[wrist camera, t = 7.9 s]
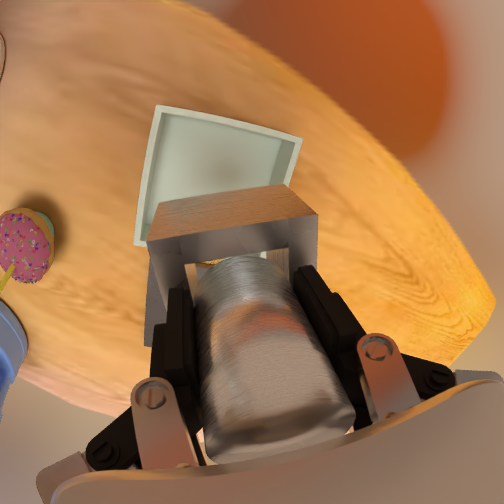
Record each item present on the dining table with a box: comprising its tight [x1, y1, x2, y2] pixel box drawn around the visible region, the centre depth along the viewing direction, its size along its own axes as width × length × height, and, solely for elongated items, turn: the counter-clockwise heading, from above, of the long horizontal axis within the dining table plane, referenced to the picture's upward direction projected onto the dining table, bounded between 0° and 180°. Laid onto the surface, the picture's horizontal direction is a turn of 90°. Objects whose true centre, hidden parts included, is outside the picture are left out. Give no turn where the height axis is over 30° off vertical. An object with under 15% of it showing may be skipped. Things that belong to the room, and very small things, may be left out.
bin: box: [133, 105, 303, 259], centre depth 27 cm, size 13×13×5 cm
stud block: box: [144, 258, 213, 347], centre depth 35 cm, size 14×14×5 cm
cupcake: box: [0, 208, 54, 293], centre depth 22 cm, size 9×8×12 cm
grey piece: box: [146, 184, 356, 464], centre depth 11 cm, size 6×6×11 cm
